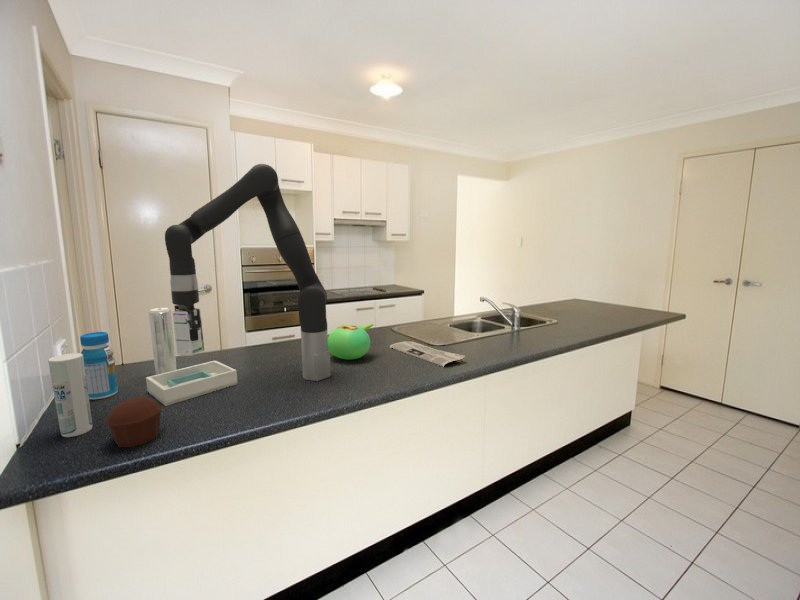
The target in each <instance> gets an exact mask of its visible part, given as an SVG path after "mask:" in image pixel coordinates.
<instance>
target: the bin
mask: <svg viewBox="0 0 800 600" xmlns="http://www.w3.org/2000/svg"><path fill="white" fill-rule="evenodd" d="M237 371H238V370H237V369H235V368H233V367H230V366H228V365H226V364H224V363H222V362H220V361H218V360H212V361H207V362H204V363H199V364H195V365H191V366H187V367H183V368H178V369H177V370H174V371H170V372H166V373H162V374H158V375H156V374H154V375H151V376H147V377H145V380H146V390H147V393H148V392H149V395H151V396H152V397H153V398H155V399H156V400H157V401H159V402H160V403H161V404H163V406H165V407H168V406H171V405H174V404H177V403H181V402H183V401H187V400H190V399H194V398H198V397H200V396H204V395H206V394H210V393H214V392H216V390H217V391H220V390H224V389H226V387H227V388H229V386H230V387H232V386H237V385H238V373H237ZM213 391H214V392H213Z"/></svg>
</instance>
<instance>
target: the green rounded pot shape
mask: <svg viewBox="0 0 800 600" xmlns="http://www.w3.org/2000/svg"><path fill="white" fill-rule="evenodd" d="M373 326H374V323H369V324H364V325H361V326H360V325H359V326H357V325H348V324H345V323H344V324H341V326H338V327H336V328H334V329H333V330H332V331H331V332H330V333H329V334H328V351H330V354H331V355H333V356H335V357H336V358H338V359H341V360H347V361H349V360H358V359H361V358H362V357H363V356H365V355H366V354H367V353H368V352H369V350H370V348H371V338H370V336H369V334H368V332H367V330H369V329H371V328H372V327H373Z"/></svg>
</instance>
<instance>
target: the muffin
mask: <svg viewBox="0 0 800 600" xmlns="http://www.w3.org/2000/svg"><path fill="white" fill-rule="evenodd" d="M162 409H163V407H162V405H161V404H160V403H159V402H157V401H156V400H155V399H154V398H152V397H146V396H135V397H131V398H128V399H124V400H123V401H121V402H120V403H118V404H116V405H115V406H114V407H113V408H112V410H111V411H110V412H109V413H108V415H107V417H106V418H105V420H104V421H105V423H106V424H107V425H108V426H109V429H110V432H111V435H112V437H113V440H114V443H115V445H117V446H118V447H119V448H132V447H136V446H141V445H145V444H147V443H148V442H150V441H153V440H154V439H156V438H155V437H157V436H158V434H159V433H160V426H161V425H160V424H161V412H162ZM156 435H157V436H156Z"/></svg>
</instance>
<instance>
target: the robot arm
mask: <svg viewBox="0 0 800 600" xmlns="http://www.w3.org/2000/svg"><path fill="white" fill-rule="evenodd" d="M254 198H256V199H257V200H258V202H259V204H260V205H261V207H262V209H263V212H264V213H265V217H266V220H267V224H268V227H269V230H270V233H271V236H272V238H273V243H274V244H275V246H276V248H277V250H278V252H279V253H278V254H279V255H280V256H281V259H283V261H284V263H285V265H286V266H287V267H288V268H289V270H290V271H291V273H292V274H293V277H294V278H295V281H296V283H297V286H298V290H299V294H298V298H297V300H298V301H297V303H298V305H297V307H298V320H299V327H300V341H301V360H302V361H301V363H302V367H301V368H302V378H303V379H304V380H306V381H316V382H319V381H321V380H324V379H327V378H329V377H331V352H330V351H329V349H328V336H329V334H328V321H327V300H328V294H327V292H326V289H325V287H324V286H323V283H322V282H321V280H320V278H319V276H318V274H317V273H316V270H315V268H314V267H313V262H312V259H311V256H310V254H309V250H308V247H307V246H306V243H305V241H304V237H303V235H302V233H301V231H300V229H299V227H298V224H297V223H296V221H295V219H294V218H293V216H292V214H291V213H290V211H289V210H288V208H287V206H286V204H285V201H284V198H283V195H282V192H281V189H280V184H279V176H278V174H277V171H276V169H274V167H272V166H271V165H269V164H266V163H257V164H256V165H253V166H252V167H251V168H250V169H249V170H248V171H247V172H246V173H245V174H244V175H243V176H242V177H241V178H239V180H238V181H237V182H235V183H233V185H232V186H230V188H228V189H226V191H223V192H222V193H221V194H220V195H218V196H216V197H215V198H213V199H212V200H210V201H209V202H207V203H205V204H204V205H202V206H201V207H199V208H198V209H196V210H195V211H194V212H193V213H191V215H190V216H189V217H188V218H187V219H185V220H183V221H182V222H180V223H179V224H172V225H170V226H169V227H167V228H166V230H165V231H164V232H165V233H164V242H165V247H166V252H167V255H168V259H169V273H170V274H169V275H170V280H169V281H170V292H171V294H170V295H171V302H172V304H173V305H174V311H180V310H181V311H186V312H188V314H189V316H190V320H187V319H186V317H185V323H188V326H189V329H190V330H189V332H190V340H191V341H196V340H198V328H200V327H201V323H200V312H201V310H200V311H199V309H200V308H197V309H195V308H196V307H195V304H197V303H200V295H199V284H198V283H199V282H198V279H197V272H196V271H197V270H196V262H195V259H194V257H193V251H192V244H195V242H197V241H198V240H199V239H200V238H202V236H205V234H206V233H209V232H210V231H211V230H213V229H215V228H216V227H218V226H219V225H221V224H222V223H223V222H225V221H226V220H228V219H229V218H230V217H231V216H233V214H235V212H237V211H238V210H239V209H240V208H241V207H242V206H243V205H244V204H246V203H249V201H251V200H252V199H254ZM194 324H195V325H194Z"/></svg>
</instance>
